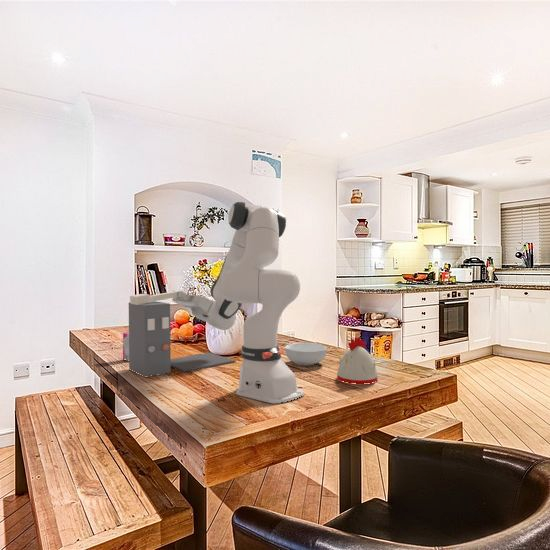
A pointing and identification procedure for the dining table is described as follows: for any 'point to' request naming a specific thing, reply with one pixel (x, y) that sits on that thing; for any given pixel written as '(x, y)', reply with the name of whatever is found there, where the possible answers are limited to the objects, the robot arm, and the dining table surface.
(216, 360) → the rubber mat
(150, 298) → the paddle lever
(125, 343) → the supplement box
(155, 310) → the switch panel
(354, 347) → the beanie hat
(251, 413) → the dining table surface
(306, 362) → the cereal bowl
